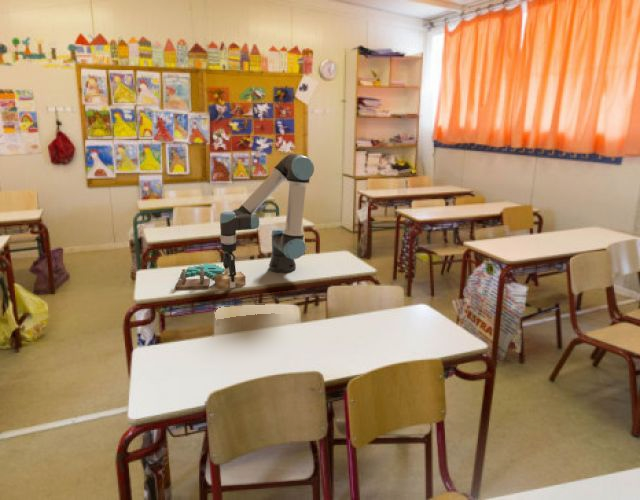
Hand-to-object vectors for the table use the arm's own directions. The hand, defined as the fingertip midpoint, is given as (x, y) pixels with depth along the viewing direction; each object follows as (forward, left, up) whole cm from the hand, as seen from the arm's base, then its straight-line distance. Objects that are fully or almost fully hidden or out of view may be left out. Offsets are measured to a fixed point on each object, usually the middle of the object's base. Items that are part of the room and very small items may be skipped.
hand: (230, 283), depth 250 cm
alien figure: (+14, -20, -1) cm, 25 cm away
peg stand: (+18, 0, 0) cm, 18 cm away
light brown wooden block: (0, 0, 0) cm, 0 cm away
